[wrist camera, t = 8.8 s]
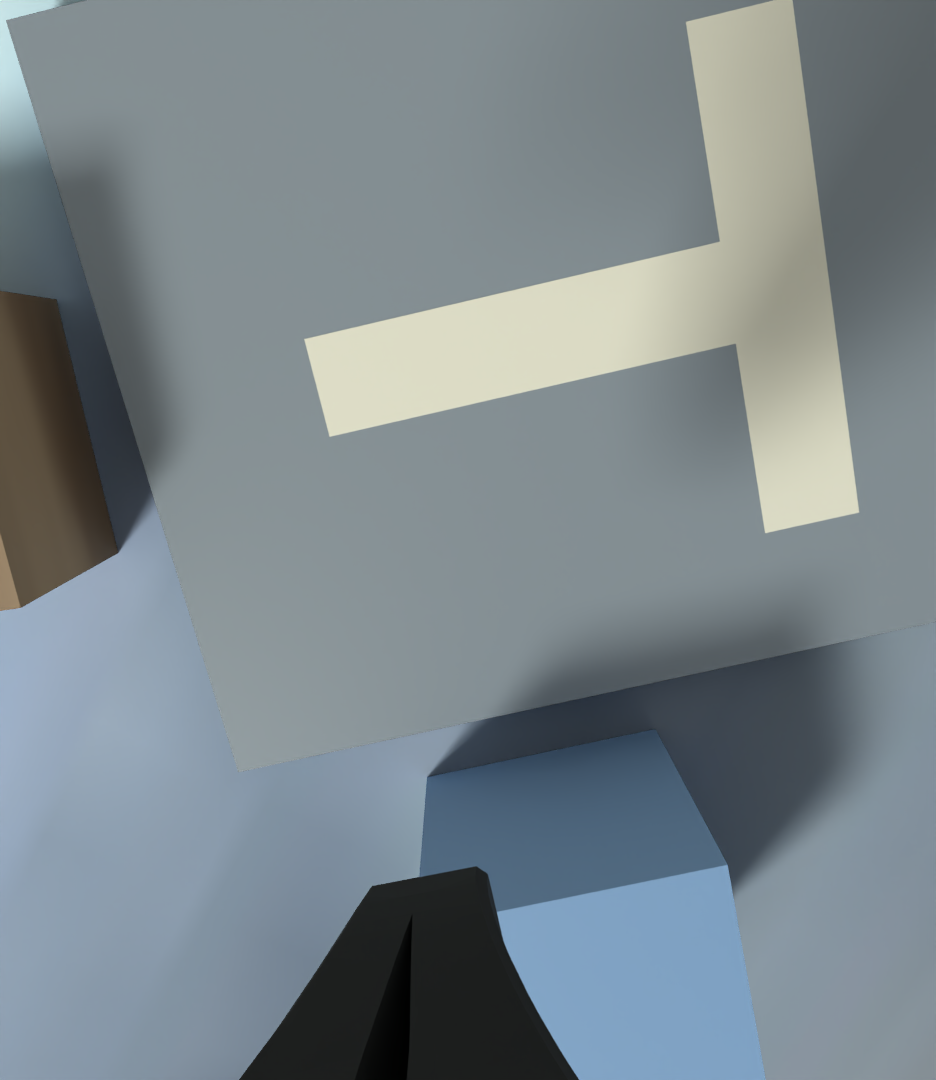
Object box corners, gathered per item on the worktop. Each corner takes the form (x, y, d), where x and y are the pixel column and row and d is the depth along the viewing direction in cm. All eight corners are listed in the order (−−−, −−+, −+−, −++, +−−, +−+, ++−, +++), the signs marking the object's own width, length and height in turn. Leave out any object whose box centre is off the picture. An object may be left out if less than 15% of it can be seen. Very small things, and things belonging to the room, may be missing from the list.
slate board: (927, -182, 14) (961, -222, 13) (1000, 587, 17) (1034, 600, 16) (36, 43, 15) (6, 20, 14) (250, 749, 18) (238, 772, 17)
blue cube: (654, 727, 18) (728, 864, 13) (692, 927, 19) (773, 1123, 14) (426, 775, 18) (415, 929, 13) (477, 971, 19) (483, 1179, 14)
